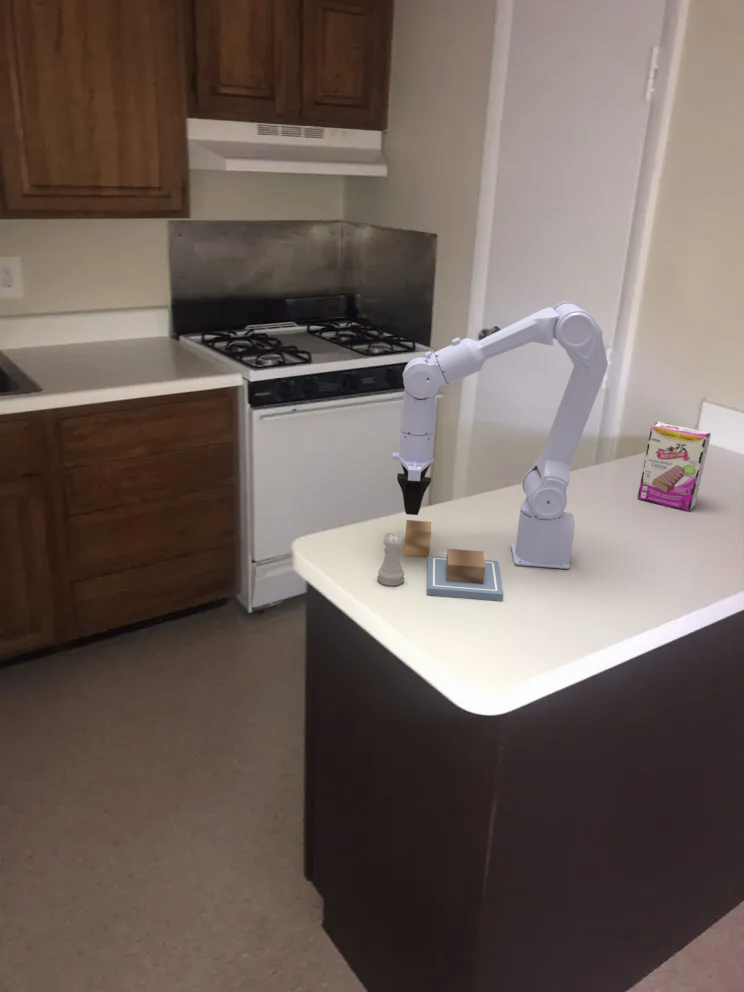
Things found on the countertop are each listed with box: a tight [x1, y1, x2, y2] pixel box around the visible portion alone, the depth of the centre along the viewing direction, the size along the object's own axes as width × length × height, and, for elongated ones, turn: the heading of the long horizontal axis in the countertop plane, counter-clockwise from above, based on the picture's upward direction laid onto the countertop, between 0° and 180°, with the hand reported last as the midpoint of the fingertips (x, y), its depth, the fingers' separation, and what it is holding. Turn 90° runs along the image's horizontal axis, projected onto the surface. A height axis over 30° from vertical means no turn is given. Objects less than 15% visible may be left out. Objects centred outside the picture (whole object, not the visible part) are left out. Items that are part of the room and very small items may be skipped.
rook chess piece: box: [377, 532, 405, 587], centre depth 134 cm, size 4×4×8 cm
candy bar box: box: [637, 421, 712, 512], centre depth 172 cm, size 11×5×16 cm, turn 58°
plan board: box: [426, 548, 504, 602], centre depth 136 cm, size 12×12×4 cm
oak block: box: [403, 519, 432, 558], centre depth 146 cm, size 4×4×5 cm
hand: (412, 505), depth 144 cm, fingers open, 7 cm apart
